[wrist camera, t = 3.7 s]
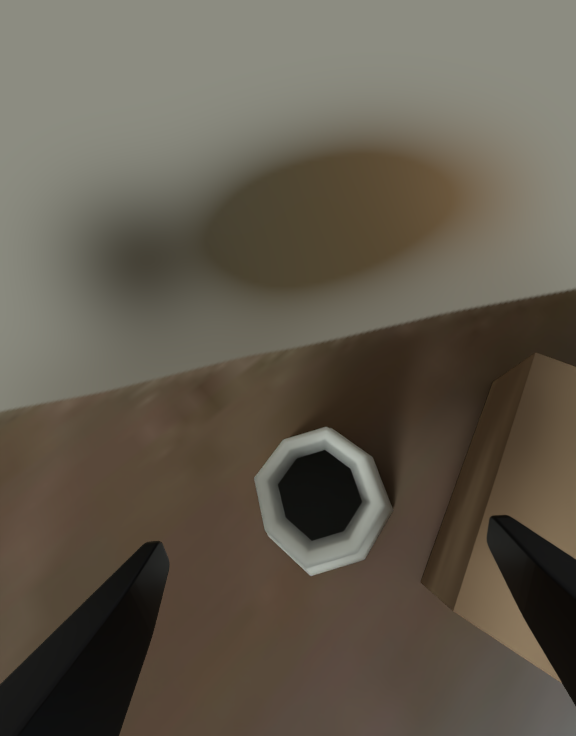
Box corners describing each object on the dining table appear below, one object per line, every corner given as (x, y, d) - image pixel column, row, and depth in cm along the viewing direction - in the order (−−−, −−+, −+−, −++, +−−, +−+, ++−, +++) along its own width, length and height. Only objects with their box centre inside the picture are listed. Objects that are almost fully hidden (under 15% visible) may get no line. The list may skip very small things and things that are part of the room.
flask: (334, 409, 18) (342, 322, 9) (417, 515, 15) (547, 540, 6) (237, 477, 17) (140, 453, 8) (306, 604, 14) (274, 784, 5)
